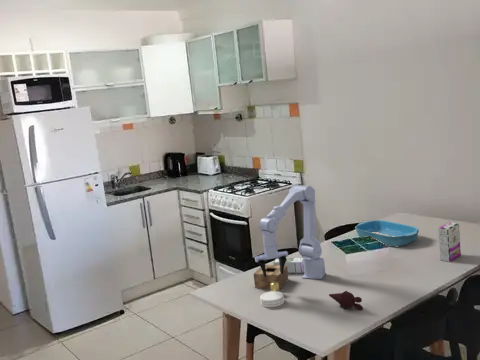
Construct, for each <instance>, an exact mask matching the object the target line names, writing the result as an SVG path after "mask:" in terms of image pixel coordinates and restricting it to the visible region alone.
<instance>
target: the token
mask: <svg viewBox="0 0 480 360" xmlns="http://www.w3.org/2000/svg"><path fill="white" fill-rule="evenodd" d="M270 287H271V289H270V291H278V292H281V291H280V290H281V289H279V282H271V283H270Z"/></svg>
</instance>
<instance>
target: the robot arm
mask: <svg viewBox="0 0 480 360" xmlns="http://www.w3.org/2000/svg"><path fill="white" fill-rule="evenodd" d="M297 201H299V202H300V203H301V204H302V205H303V238H301V239H300V240H299V246H298V253H299V255H300V256H301V258H303V262H304V272H303V273H304V274H303V275H302V276H301V278H302V279H313V280H314V279H315V280H322V279H323V277H324V276H325V275H326V268H325V267H326V264H325V260H324V258H322V257H321V256H322V254H323V253H322V246H321V241H320V240H318V238H317V237H316V190H315V188H314V187H312V186H311V185H301V184H300V185H299V184H293V185H292V186H291V187H290V189H288V194H287V195H286V197H285V198H284V200H283V201H282V202H281V203H280V205H275V206H273V208H272V210H271V211H270V212H269V213H268V214H266V217H263V218H261V219H260V220H259V223H258V229H259V230H260V232H261V235H262V243H263V251H264V252H263V253H264V254H260V255H257V256H254V260H255V263H258V265H259V268H260V267H261V269H262V271H263V275H264V277H266V270H265V265H266V263H265V261H268V260H273V259H274V260H275V259H279V263H280V272H281V274H283V270H284V265H285V263H286V260H287V258H288V257H289V252H288V251H286V250H285V251H278V245H277V244H278V243H277V233H276V231H277V229H278V226H279V225H280V222H281V221H282V219H284V217H285V216H286V214H287V212H286V211H288V209H289V208H290V207H291V206H292V205H293V204H294V203H295V202H297Z"/></svg>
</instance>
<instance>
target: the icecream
mask: <svg viewBox="0 0 480 360" xmlns="http://www.w3.org/2000/svg"><path fill="white" fill-rule="evenodd" d="M328 297H330V298H331V299H333V300H334V301H335V302H336V303H338V304H339V307H340V308H341V309H343V308H344V309H350V308H352V307H354V308H355V309H357V310H358V311H359V310H361V311H362V310H363V309H364V306H363V305H361V302H362V301H363V300H362V298H361V297H360V296H354V294H353V293H352V292H349V291H347V290H345V291H343V292H341V293H340V292H339V293H329V294H328Z"/></svg>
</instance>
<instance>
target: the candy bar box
mask: <svg viewBox="0 0 480 360" xmlns="http://www.w3.org/2000/svg"><path fill="white" fill-rule="evenodd" d="M460 235H461V234H460V222H454V221H449V222H447V223H445V224H444V225H441V226H440V227H438V239H439V252H440V253H439V254H440V255H439V256H440V261H441V262H448V263H451V262H453V261H454V260H456V259H457V258H458V257H460V256H461V255H462V254H461V253H462V252H461V250H462V249H461V237H460Z"/></svg>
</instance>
